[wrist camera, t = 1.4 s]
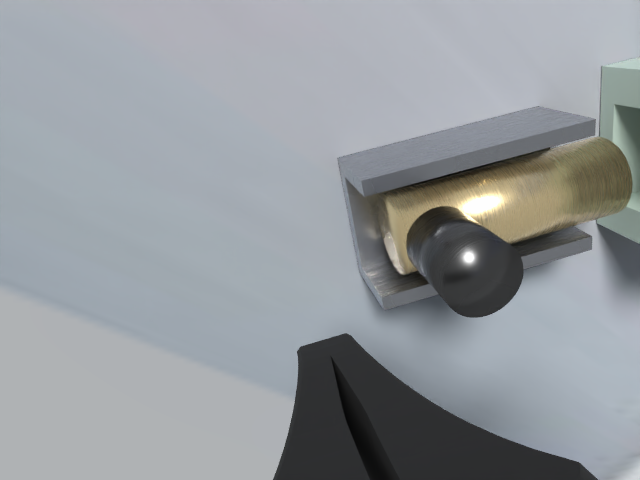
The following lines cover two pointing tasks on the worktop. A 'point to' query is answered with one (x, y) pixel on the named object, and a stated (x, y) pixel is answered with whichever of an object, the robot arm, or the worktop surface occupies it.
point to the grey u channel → (442, 161)
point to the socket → (623, 136)
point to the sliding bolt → (498, 218)
